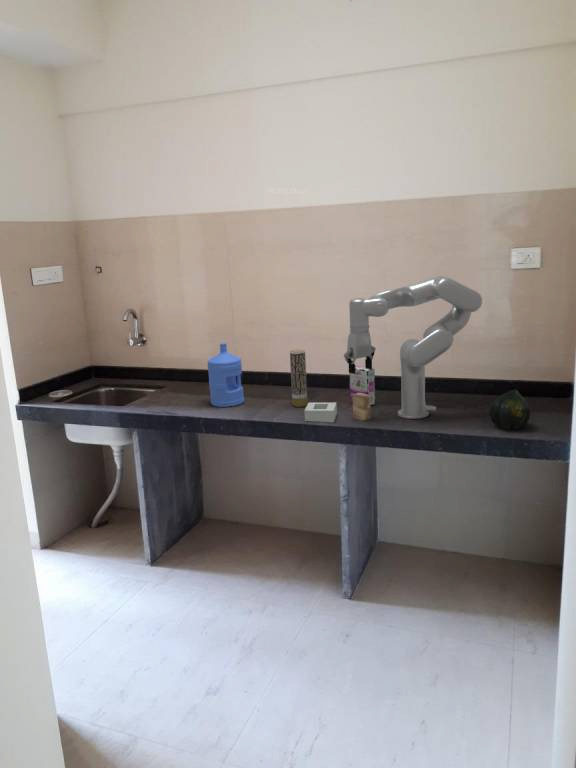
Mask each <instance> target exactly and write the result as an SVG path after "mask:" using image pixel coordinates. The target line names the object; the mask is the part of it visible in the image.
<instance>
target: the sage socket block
mask: <svg viewBox="0 0 576 768" xmlns="http://www.w3.org/2000/svg"><path fill="white" fill-rule="evenodd" d="M337 407H338V406H337V402H307V405H306V406H305V409H304V411H303V412H304V422H305V421H321V422H320V423H335V421H334V420H336V418H337V415H338V414H337V413H338V411H337V410H338V408H337ZM323 421H324V422H323Z"/></svg>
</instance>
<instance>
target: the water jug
mask: <svg viewBox="0 0 576 768" xmlns="http://www.w3.org/2000/svg"><path fill="white" fill-rule="evenodd" d="M227 345H228V343H220V344H219V350H220V351H219V353H218V354H216V355H215V356H212V357H210V358H209V359H207V371H208V386H209V393H210V397H209V398H210V399H209V401H210V404H211V405H212V406H213V407H216V406H217V407H216V408H231V407H230V406H232V407H237V406H240V405H242V404H243V403H244V401H245V396H244V387H243V386H242V379H241V376H242V373H243V370H242V368H243V363H242V359H241V357H240V356H237V355H234V354H232V353H230V352H228V349H227V348H228V347H227ZM236 405H237V406H236Z"/></svg>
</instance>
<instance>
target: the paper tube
mask: <svg viewBox="0 0 576 768" xmlns="http://www.w3.org/2000/svg"><path fill="white" fill-rule="evenodd" d="M289 361H290V362H289V365H290V381H291V382H290V383H291V385H290V386H291V400H292V401H291V402H292V406H293V407H295V408H303V407H307V405H308V386H307V384H308V382H307V364H306V362H307V361H306V350H305V349H292V350H289Z"/></svg>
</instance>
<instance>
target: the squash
mask: <svg viewBox="0 0 576 768" xmlns="http://www.w3.org/2000/svg"><path fill="white" fill-rule="evenodd" d="M489 416H490V419H491V422H492V423H494V424H495V425H498V426H500V427H502V428H503V429H504V430H506V431H508V430H510V429H511V430H517V429H519V428H521V427H524V426H526V425H527V423H528V422H529V421H530V416H531V409H530V406H529V404H528V401H526V399H525V398H524V397H523V395H522V394H521V393H520V392H519V390H517V389H516V388H515V389H511V390H508V391H506V392H504V393H502V394H501V395H499V396H498V397H497V398H496V399H495V400H494V401H493V403H492V404H491V406H490V410H489Z"/></svg>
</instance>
